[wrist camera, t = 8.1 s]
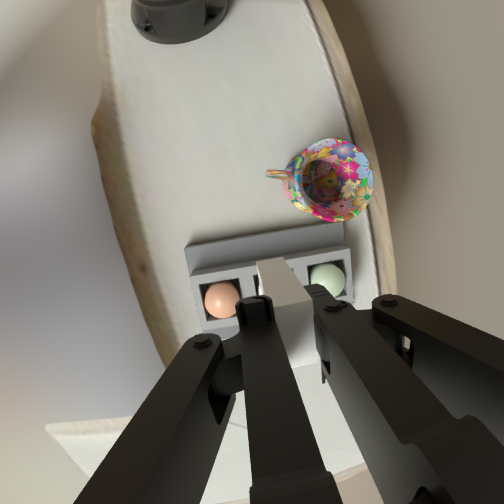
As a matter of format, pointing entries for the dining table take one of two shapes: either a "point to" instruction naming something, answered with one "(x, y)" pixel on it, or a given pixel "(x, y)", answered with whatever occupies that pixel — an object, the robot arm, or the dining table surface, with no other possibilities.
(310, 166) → the mug
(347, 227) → the dining table surface
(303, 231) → the panel
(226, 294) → the brown egg
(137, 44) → the dining table surface
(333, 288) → the pale green rounded piece
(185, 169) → the dining table surface
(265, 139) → the dining table surface
